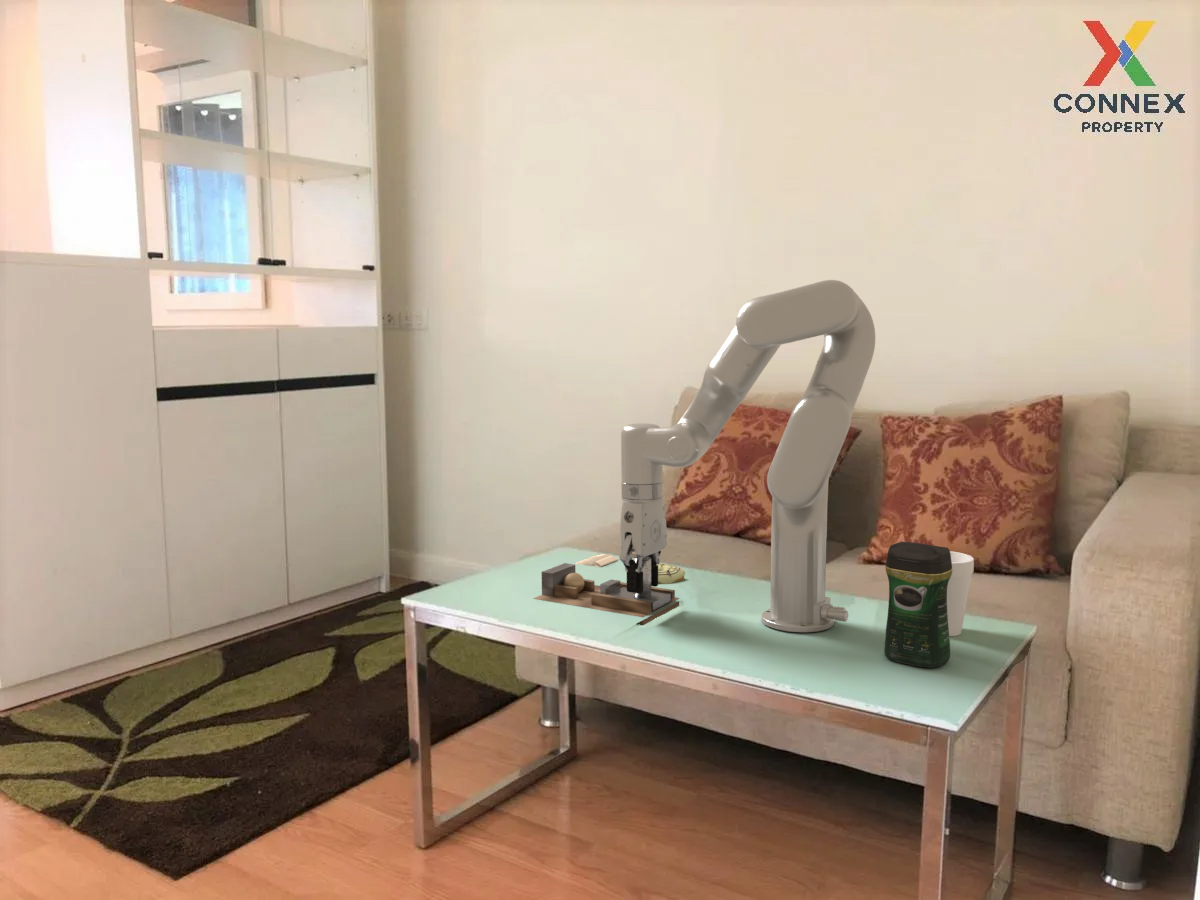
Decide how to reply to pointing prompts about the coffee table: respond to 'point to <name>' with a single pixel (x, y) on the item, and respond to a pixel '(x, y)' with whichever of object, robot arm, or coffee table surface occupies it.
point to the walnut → (574, 581)
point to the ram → (654, 597)
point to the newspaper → (598, 560)
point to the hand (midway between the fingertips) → (642, 587)
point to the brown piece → (596, 595)
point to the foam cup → (958, 590)
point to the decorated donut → (669, 574)
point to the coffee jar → (918, 604)
